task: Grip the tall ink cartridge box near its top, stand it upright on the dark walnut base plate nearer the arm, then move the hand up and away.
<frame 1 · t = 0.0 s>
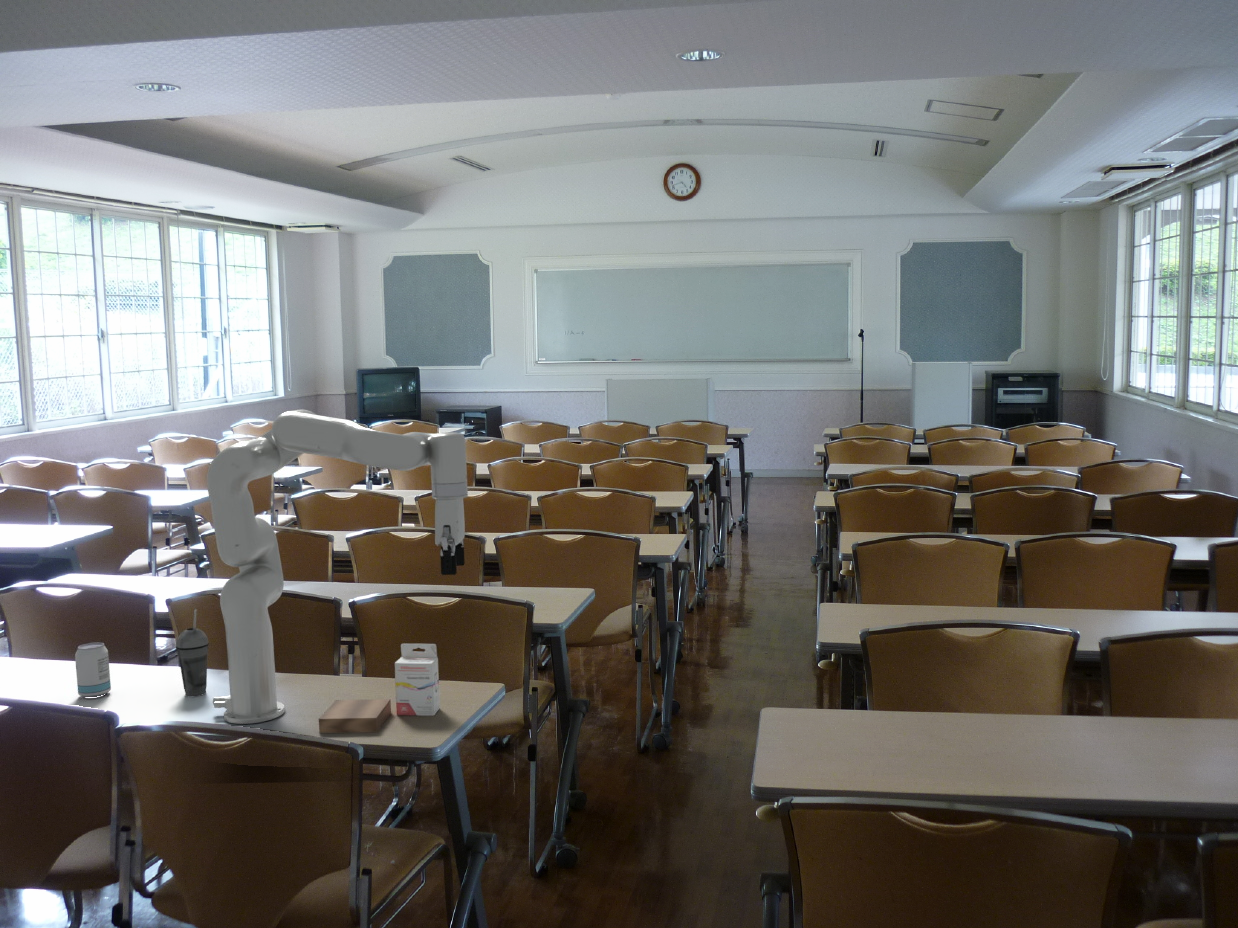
hand: (453, 569, 226), 31 cm above the table, tool pointing down, fingers open, 9 cm apart
beverage cup: (195, 694, 247), on the table
walnut base plate: (356, 722, 224), on the table
ink cartridge box: (418, 713, 229), on the table
beverage can: (95, 696, 248), on the table
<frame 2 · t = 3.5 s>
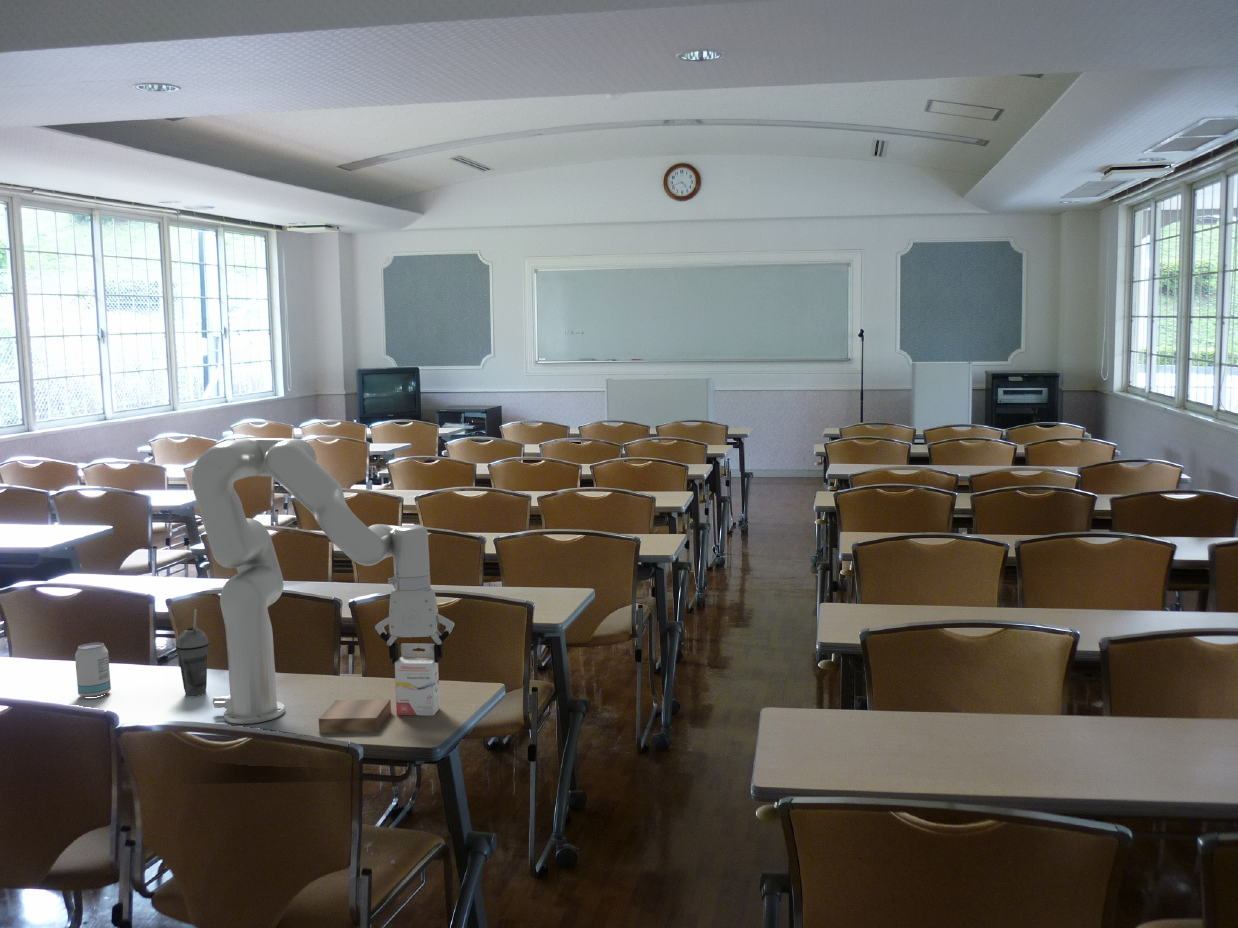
hand: (416, 661, 228), 11 cm above the table, tool pointing down, fingers closed on ink cartridge box, 8 cm apart
ink cartridge box: (418, 712, 229), on the table, touching gripper
everything else where it was.
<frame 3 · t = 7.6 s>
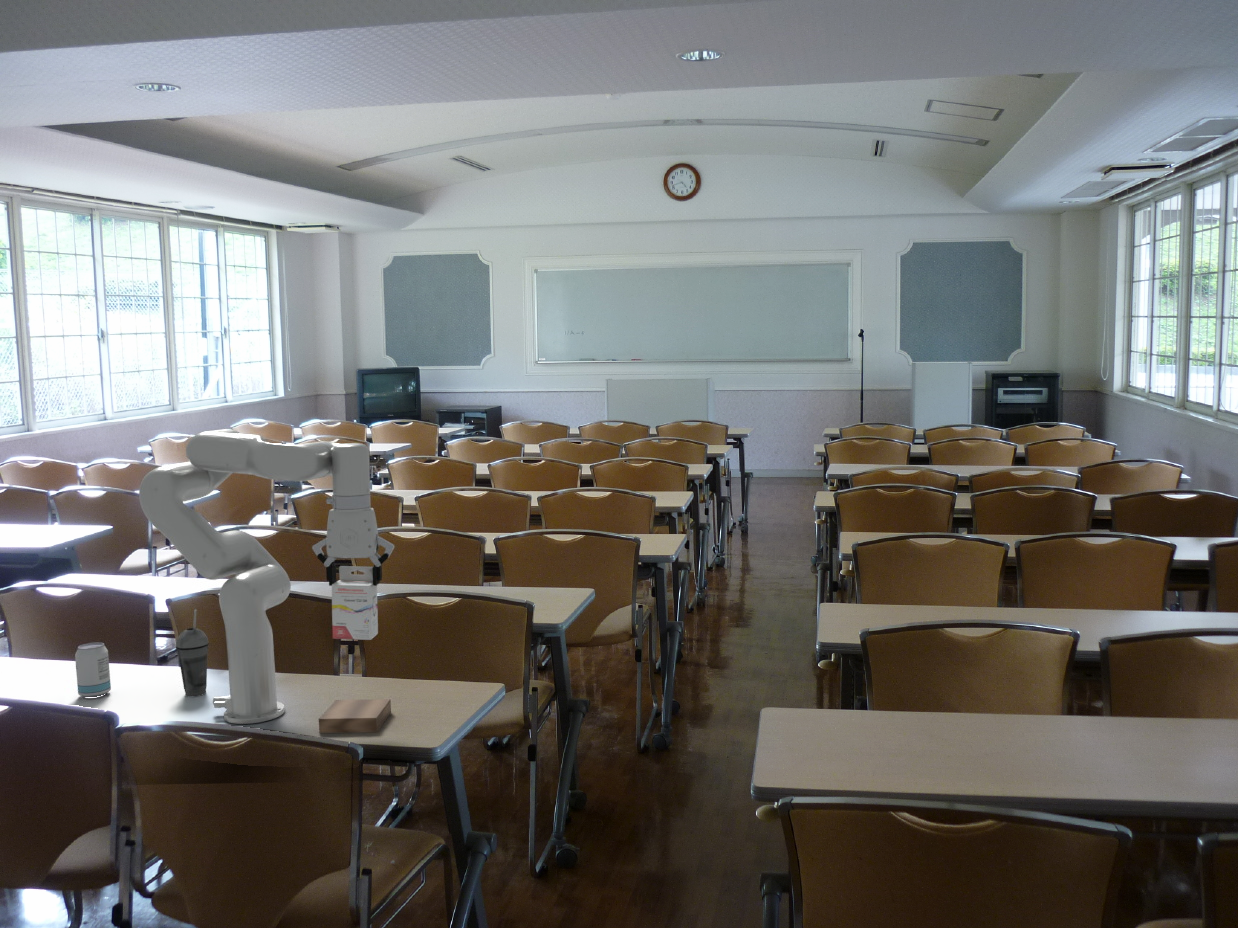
hand: (354, 584, 221), 30 cm above the table, tool pointing down, fingers closed on ink cartridge box, 8 cm apart
ink cartridge box: (355, 637, 223), point 18 cm above the table, touching gripper
everything else where it was.
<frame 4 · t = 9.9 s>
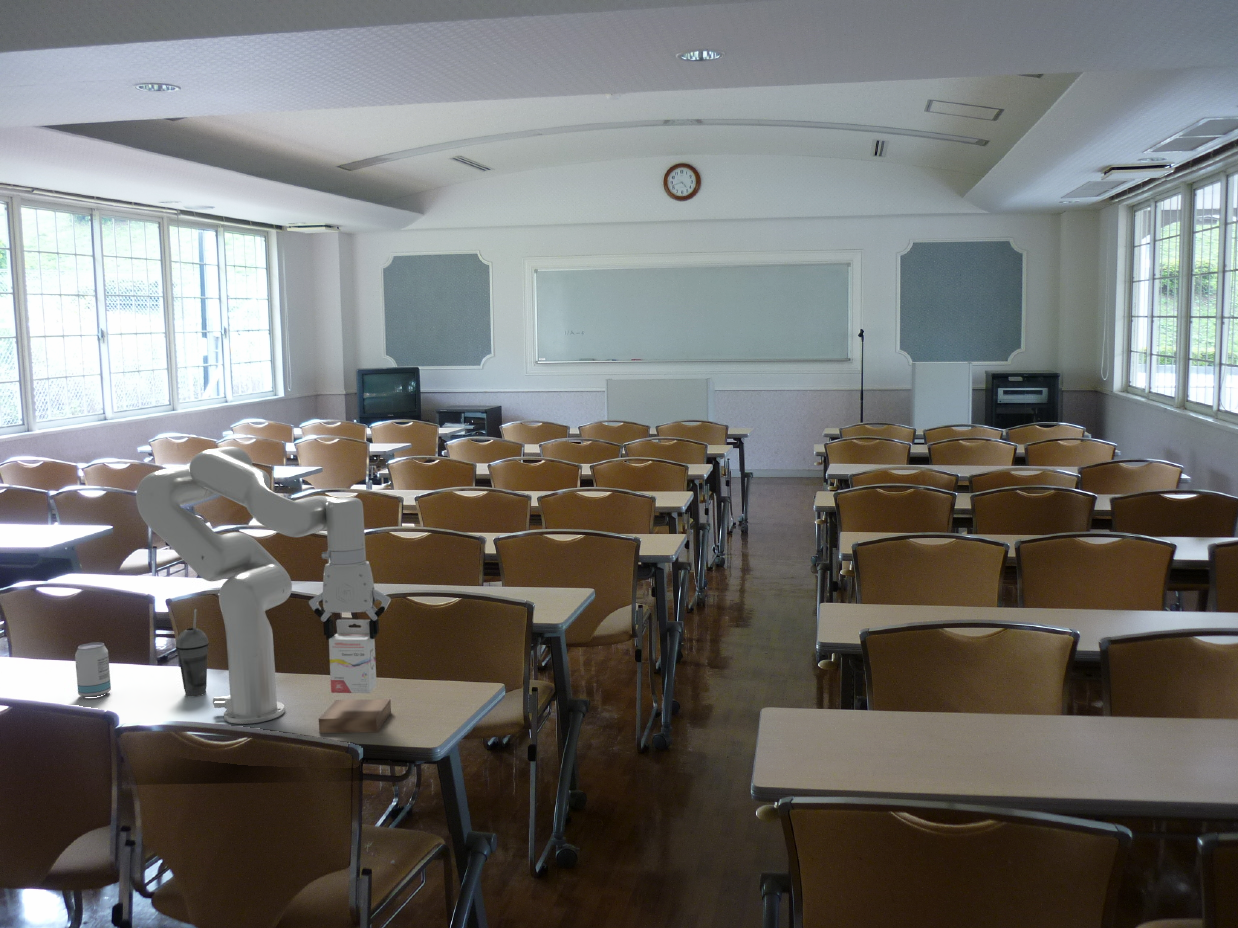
hand: (351, 637, 222), 18 cm above the table, tool pointing down, fingers closed on ink cartridge box, 8 cm apart
ink cartridge box: (354, 690, 223), point 7 cm above the table, touching gripper
everything else where it was.
when the fingers open (16 cm above the table, at t = 11.7 s): ink cartridge box drops 1 cm, resting on walnut base plate.
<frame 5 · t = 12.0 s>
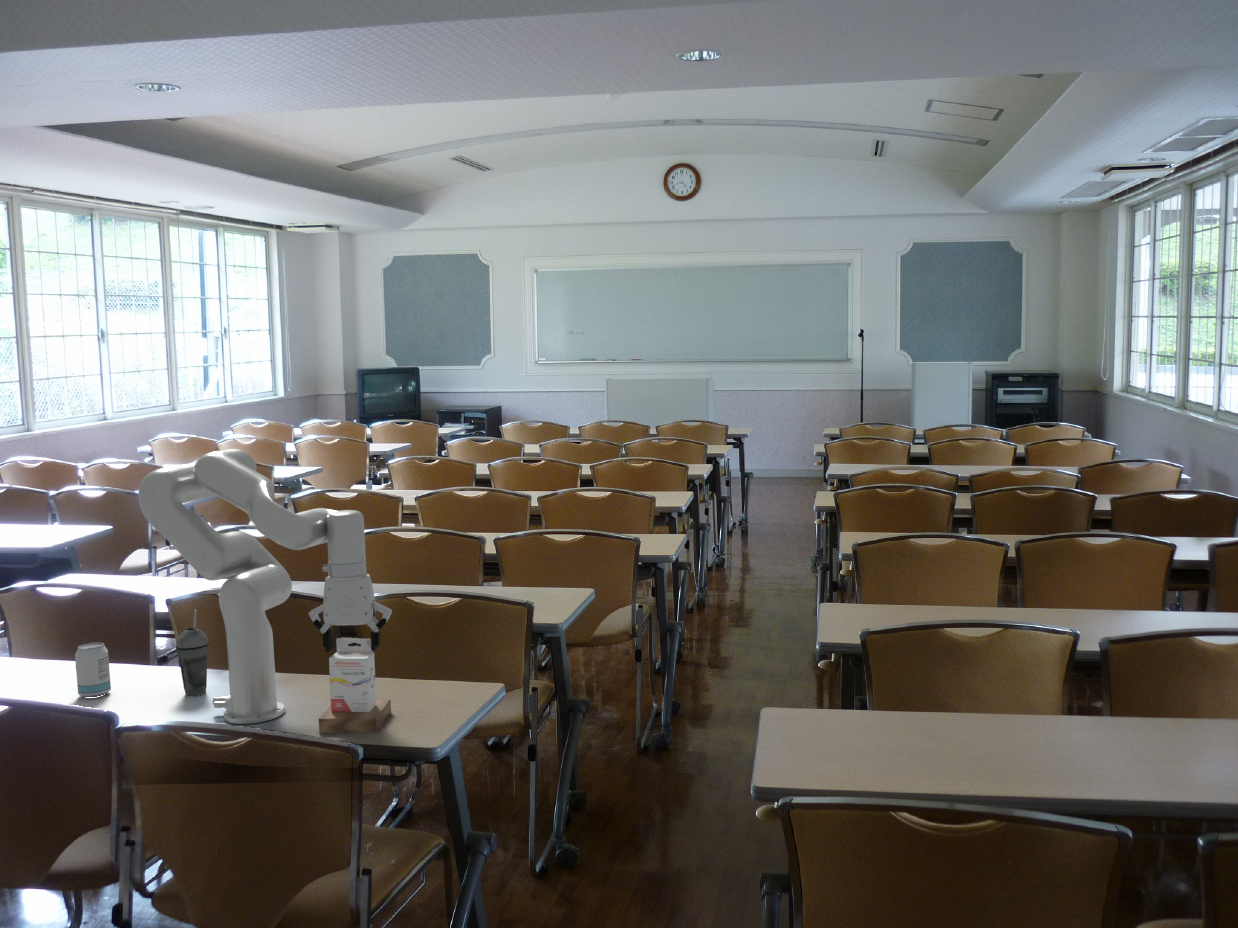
hand: (352, 649, 222), 16 cm above the table, tool pointing down, fingers open, 9 cm apart
ink cartridge box: (354, 709, 223), point 3 cm above the table, touching walnut base plate
everything else where it was.
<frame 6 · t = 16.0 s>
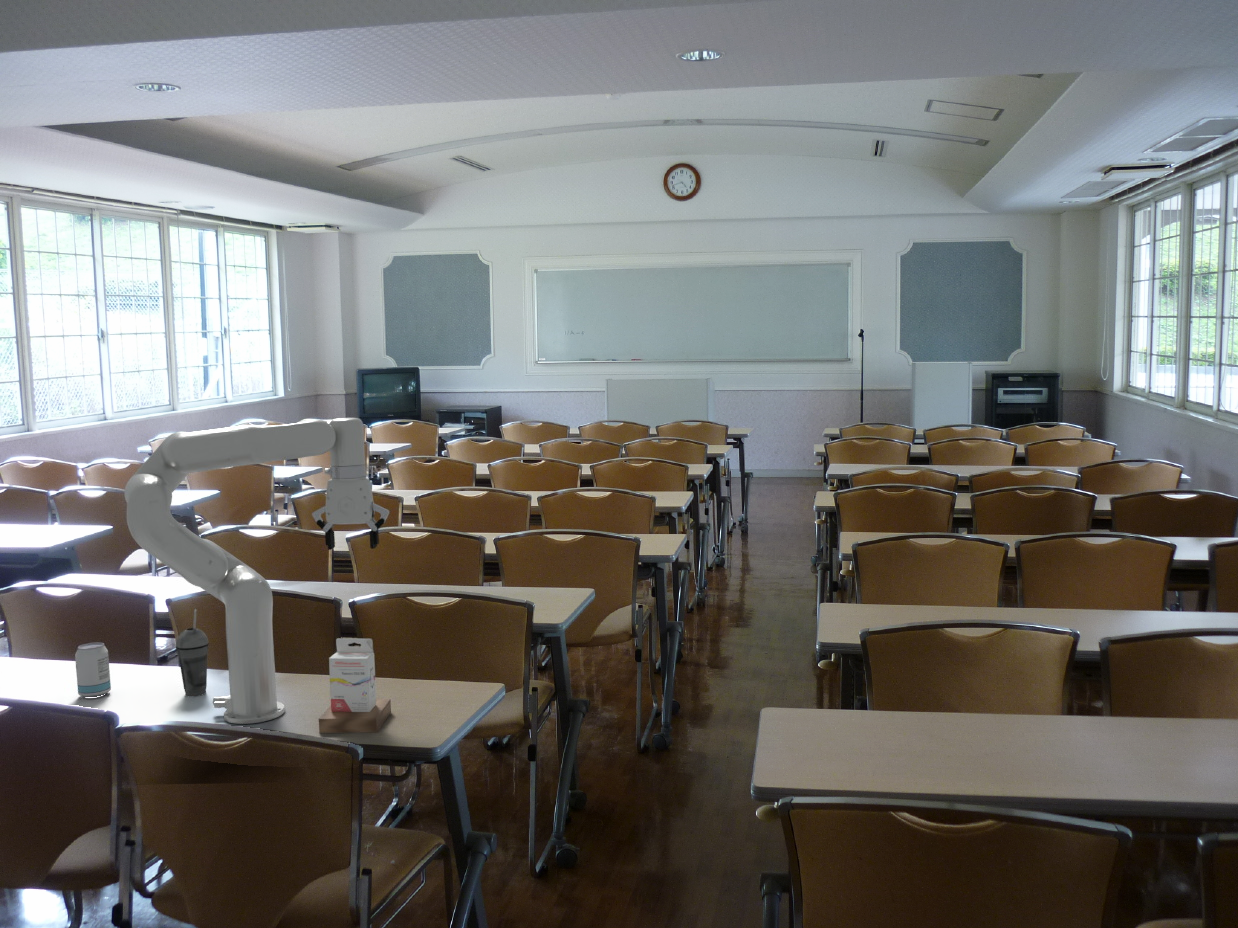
hand: (352, 548, 238), 34 cm above the table, tool pointing down, fingers open, 9 cm apart
nothing on the table moved.
at the end: ink cartridge box inside the target area on the walnut base plate (0.3 cm from its centre), point 2.8 cm above the walnut base plate's base; ink cartridge box tilted 0°; the gripper is holding nothing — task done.
